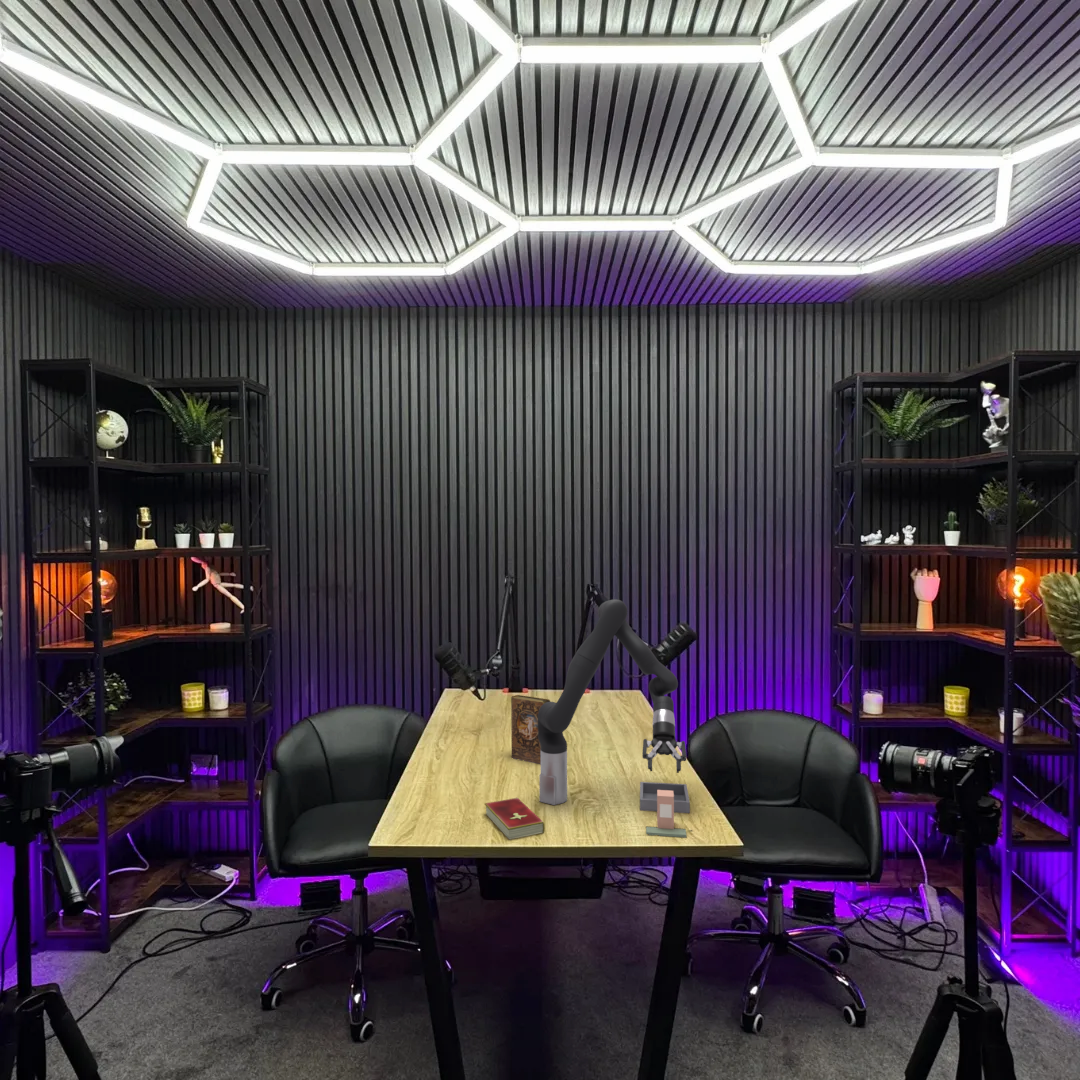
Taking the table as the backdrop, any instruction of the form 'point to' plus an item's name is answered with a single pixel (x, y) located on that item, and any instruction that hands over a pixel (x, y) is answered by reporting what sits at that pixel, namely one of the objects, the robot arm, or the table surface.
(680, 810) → the parts bin
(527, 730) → the book
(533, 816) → the hardcover book
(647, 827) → the grey-green flat plate
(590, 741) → the table surface
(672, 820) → the labelled box
